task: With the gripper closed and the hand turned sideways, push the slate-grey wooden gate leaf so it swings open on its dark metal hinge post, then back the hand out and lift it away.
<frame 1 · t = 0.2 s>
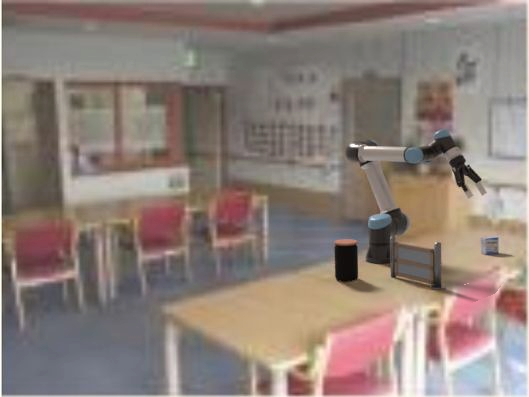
hand: (477, 195, 333), 35 cm above the table, tool tilted 35°, fingers open, 13 cm apart
medicine box: (489, 253, 367), on the table
coffee jar: (346, 279, 326), on the table
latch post: (393, 276, 327), on the table
hinge post: (437, 287, 305), on the table
gate leaf: (414, 262, 315), point 9 cm above the table, hinge at 0.0°
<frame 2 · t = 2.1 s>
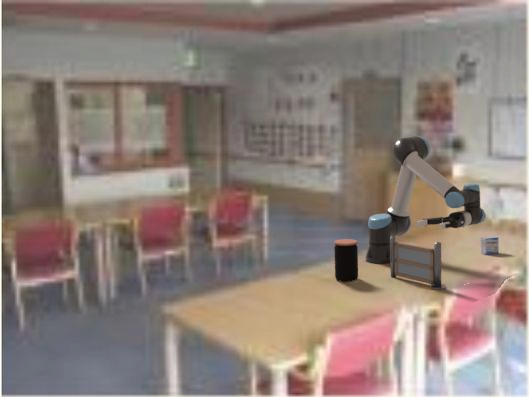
hand: (428, 225, 318), 25 cm above the table, tool horizontal, fingers open, 13 cm apart
nothing on the table moved.
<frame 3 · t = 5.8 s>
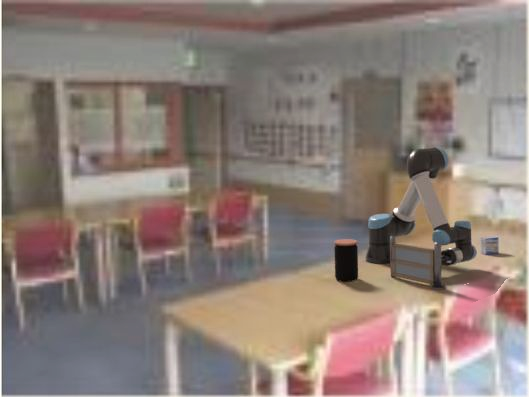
hand: (416, 265, 314), 8 cm above the table, tool horizontal, fingers closed
gate leaf: (413, 263, 314), point 9 cm above the table, hinge at 3.7°, touching gripper
everything else where it was.
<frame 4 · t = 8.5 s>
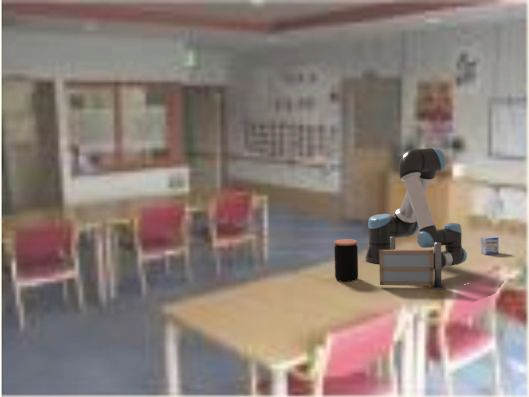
hand: (404, 268, 308), 8 cm above the table, tool horizontal, fingers closed
gate leaf: (406, 267, 306), point 9 cm above the table, hinge at 44.3°
everything else where it was.
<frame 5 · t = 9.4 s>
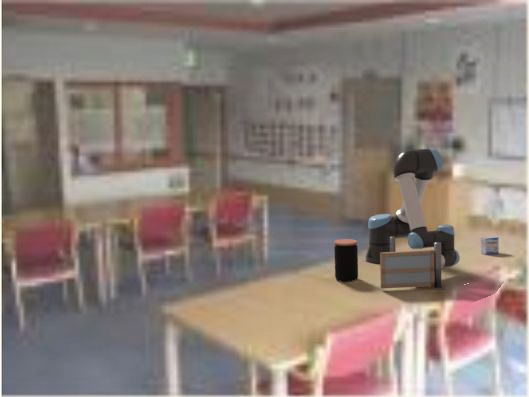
hand: (396, 270, 305), 8 cm above the table, tool horizontal, fingers closed
gate leaf: (407, 269, 303), point 9 cm above the table, hinge at 57.3°, touching gripper
everything else where it was.
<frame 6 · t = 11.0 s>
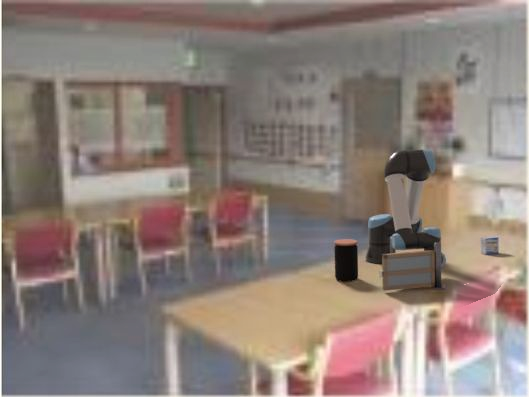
hand: (380, 273, 301), 8 cm above the table, tool horizontal, fingers closed
gate leaf: (408, 270, 301), point 9 cm above the table, hinge at 65.2°
everything else where it was.
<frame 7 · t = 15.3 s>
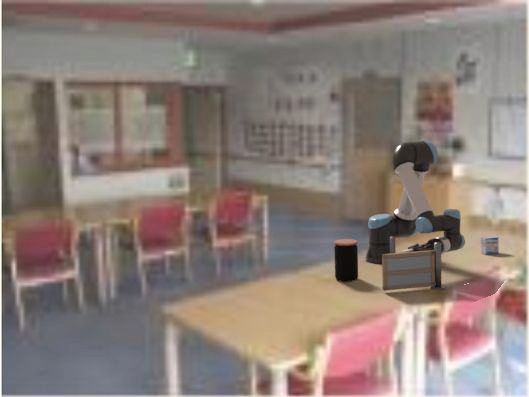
hand: (402, 254, 308), 14 cm above the table, tool horizontal, fingers closed
nothing on the table moved.
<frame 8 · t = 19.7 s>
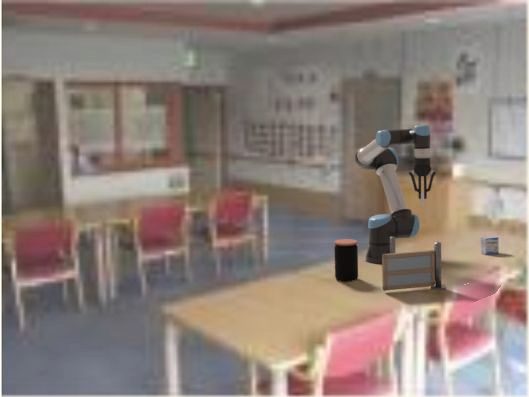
hand: (422, 205, 340), 30 cm above the table, tool pointing down, fingers closed
nothing on the table moved.
at the end: gate leaf at +65° (first picture: +0°); coffee jar moved 0.2 cm from its start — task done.
